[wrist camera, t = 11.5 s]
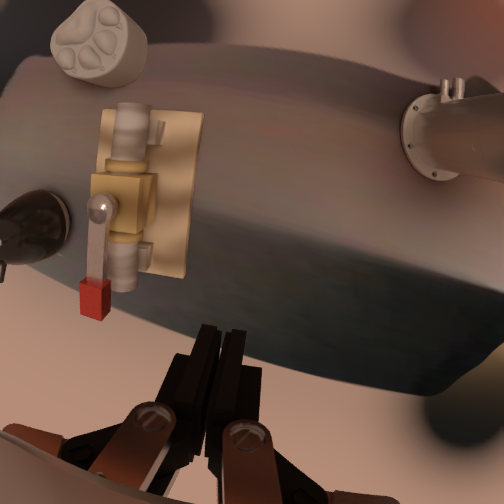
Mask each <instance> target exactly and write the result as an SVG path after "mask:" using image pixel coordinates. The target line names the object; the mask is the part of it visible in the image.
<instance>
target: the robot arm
mask: <svg viewBox="0 0 504 504" xmlns="http://www.w3.org/2000/svg"><path fill="white" fill-rule="evenodd" d="M452 90H453V94H452V97H449V96H448V93H449V81H448V80H446V79H441V80H440V94H427V95H423V96H420V97H417V98H416V99H414V100H413V101H412V102H411V103H410V104H409V105H408V106H407V108H406V110H405V112H404V114H403V117H402V120H401V128H400V130H401V141H402V146H403V149H404V152H405V154H406V156H407V158H408V160H409V162H410V163H411V164H412V166H413V167H414V168H415V169H416V170H417V171H418V172H419V173H420V174H422V175H423V176H425V177H427V178H430V179H433V180H437V181H446V180H451V179H453V178H455V177H456V176H458V175H459V174H464V175H469V176H474V177H479V178H484V179H488V180H492V181H497V182H501V183H504V93H497V94H490V95H483V96H476V97H470V98H464V92H465V81H464V80H463V79H460V78H453V84H452ZM413 108H414V110H413ZM408 145H409V147H408ZM432 173H433V174H432ZM246 332H247V331H243V330H237V329H232V333H231V332H226V334H225V338H224V342H223V346H222V350H221V354H220V345H221V335H222V331H219V330H217V326H212V325H207V324H202V326H201V328H200V331H199V333H198V336H197V339H196V341H195V344H194V346H193V349H192V352H191V354H190V356H189V355H184V354H179V353H177V354H176V355H175V356H174V358H173V361H172V363H171V365H170V367H169V370H168V372H167V375H166V377H165V379H164V381H163V383H162V386H161V388H160V390H159V393H158V395H157V397H156V400H155V402H150V401H149V402H144V403H141V404H139V405H137V406H135V407H134V408H133V409H132V410H131V412H130V413H129V415H128V416H127V417H126V419H125V420H124V421H123V423H120V424H117V425H113V426H110V427H107V428H104V429H100V430H97V431H94V432H90V433H87V434H83V435H79V436H76V437H73V438H71V439H65V438H64V437H63V436H62V435H58V434H54V433H50V432H45V431H42V430H38V429H35V428H31V427H27V426H24V425H21V424H15V423H13V424H9V425H7V426H6V427H4V428H3V430H2V431H0V504H192V503H188V502H183V501H179V500H174V499H170V498H167V496H168V494H169V492H170V490H171V488H172V485H173V484H174V482H175V480H176V477H177V476H178V474H179V470H180V468H182V467H184V466H187V465H189V462H193V458H194V455H197V456H200V454H201V449H202V445H203V440H204V437H205V432H206V438H205V457H208V458H209V459H208V469H209V470H210V471H211V472H212V473H213V474H214V475H215V477H216V478H217V504H400V503H399V502H398V501H397V500H396V499H394V498H392V497H388V496H379V495H369V494H359V493H351V492H344V491H338V490H335V491H334V492H329V491H325V490H324V489H323V488H322V487H321V486H319V485H318V484H317V483H316V482H314V481H313V480H312V479H310V478H309V477H308V476H306V475H305V474H304V473H303V472H301V471H300V470H299V469H298V468H297V467H295V466H294V465H293V464H291V463H290V462H289V461H288V460H287V459H286V458H284V457H283V456H282V455H281V454H280V453H279V452H277V451H276V450H275V449H274V448H273V442H272V437H271V434H270V431H269V430H268V429H267V428H266V427H265V426H264V425H263V424H261V423H259V422H258V421H259V407H260V392H261V377H262V368H260V367H253V366H247V365H242V359H243V352H244V346H245V339H246ZM219 354H220V358H219Z"/></svg>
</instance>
